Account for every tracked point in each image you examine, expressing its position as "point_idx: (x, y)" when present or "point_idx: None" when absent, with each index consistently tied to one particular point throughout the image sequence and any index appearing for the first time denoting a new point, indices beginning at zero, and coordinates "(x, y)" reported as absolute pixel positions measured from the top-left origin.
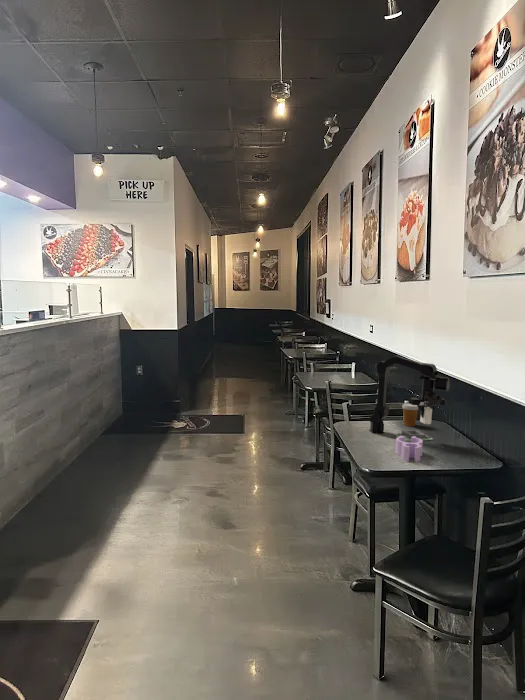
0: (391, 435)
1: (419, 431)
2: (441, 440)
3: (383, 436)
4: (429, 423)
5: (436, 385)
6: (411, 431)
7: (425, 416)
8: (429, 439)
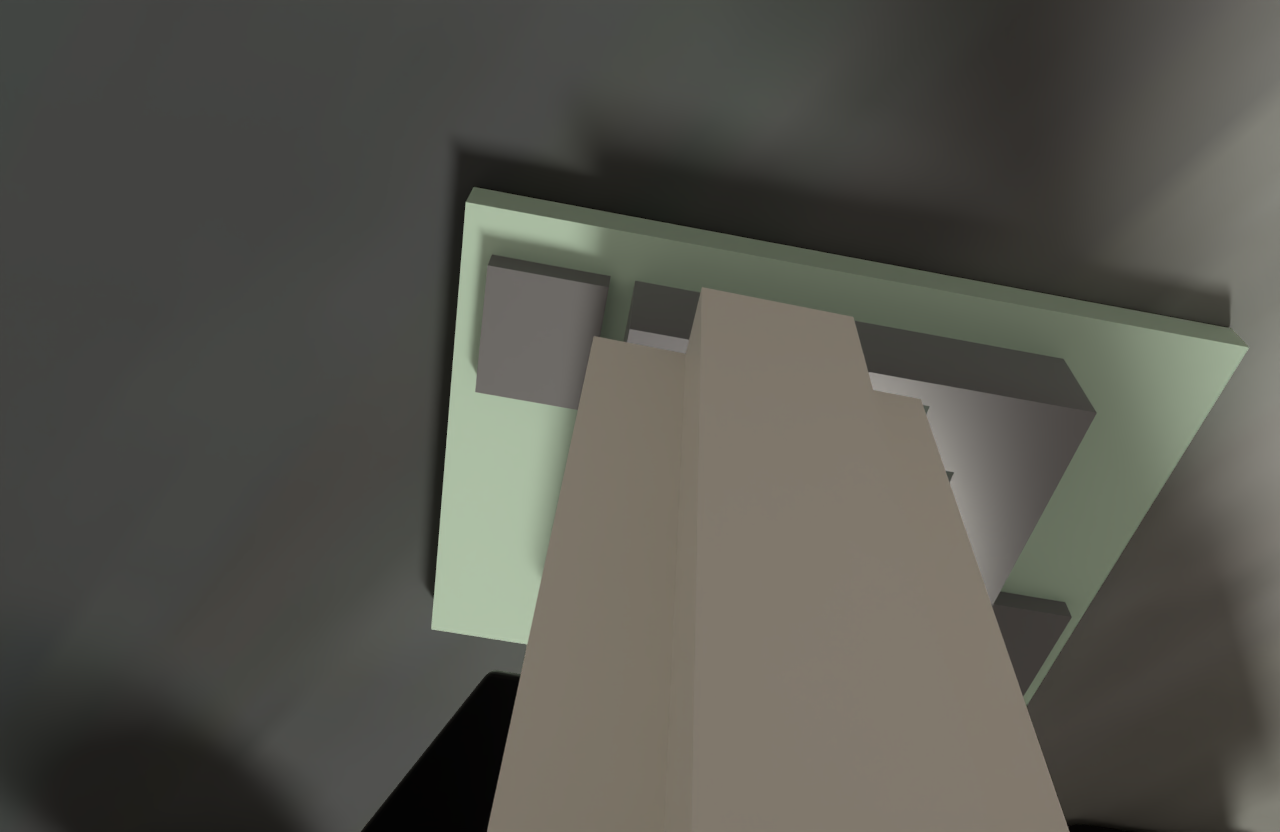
0: (1073, 705)
1: None
2: (254, 78)
3: (1272, 704)
4: (739, 314)
5: None
6: None
7: (1008, 684)
8: (564, 212)
